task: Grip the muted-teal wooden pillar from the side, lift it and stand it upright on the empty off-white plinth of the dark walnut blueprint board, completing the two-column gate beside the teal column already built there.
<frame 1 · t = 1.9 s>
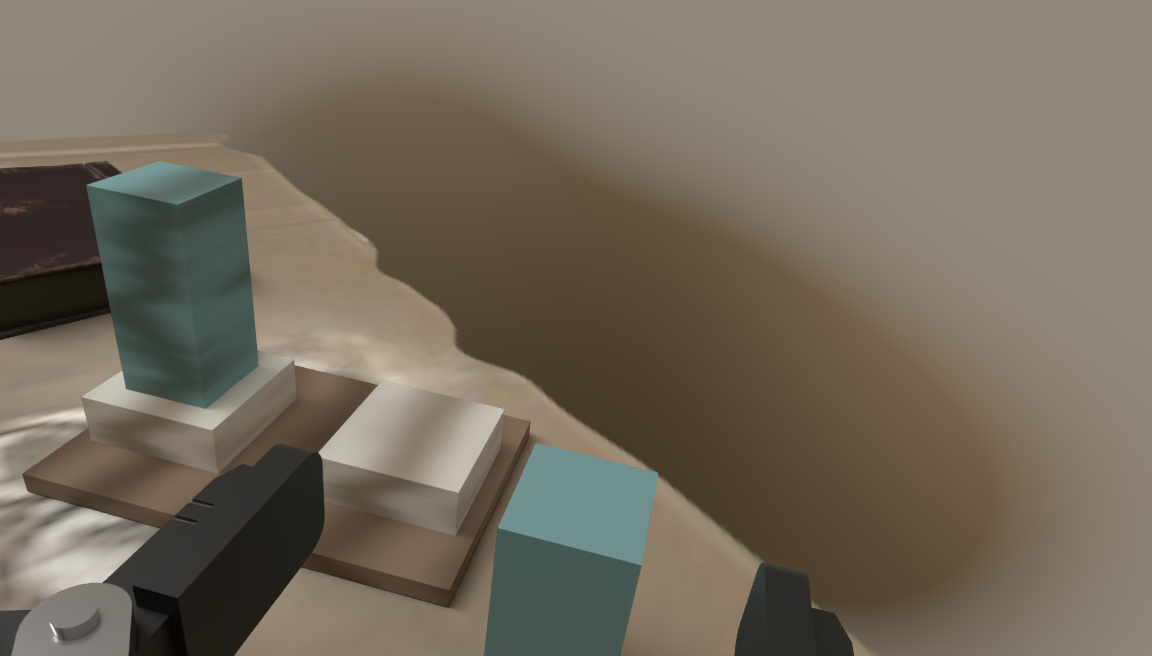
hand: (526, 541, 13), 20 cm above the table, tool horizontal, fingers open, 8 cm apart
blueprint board: (306, 460, 44), on the table
diary: (64, 262, 63), on the table
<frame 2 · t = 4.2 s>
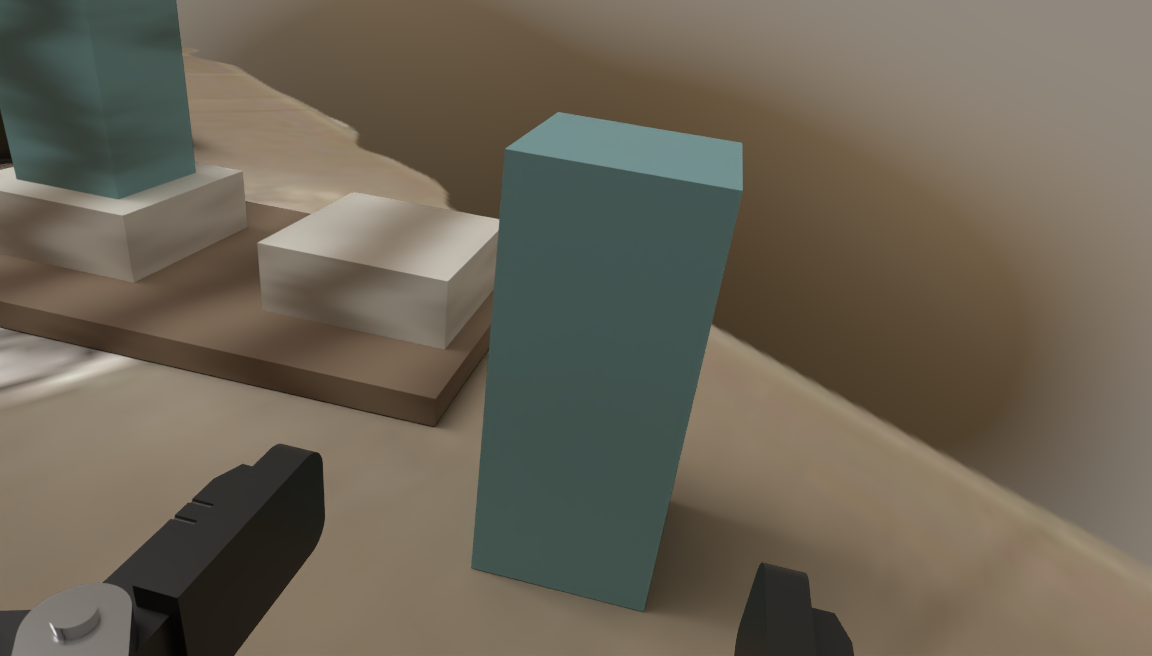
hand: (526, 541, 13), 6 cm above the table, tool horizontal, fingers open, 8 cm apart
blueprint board: (256, 287, 34), on the table
teal pillar: (574, 530, 22), on the table
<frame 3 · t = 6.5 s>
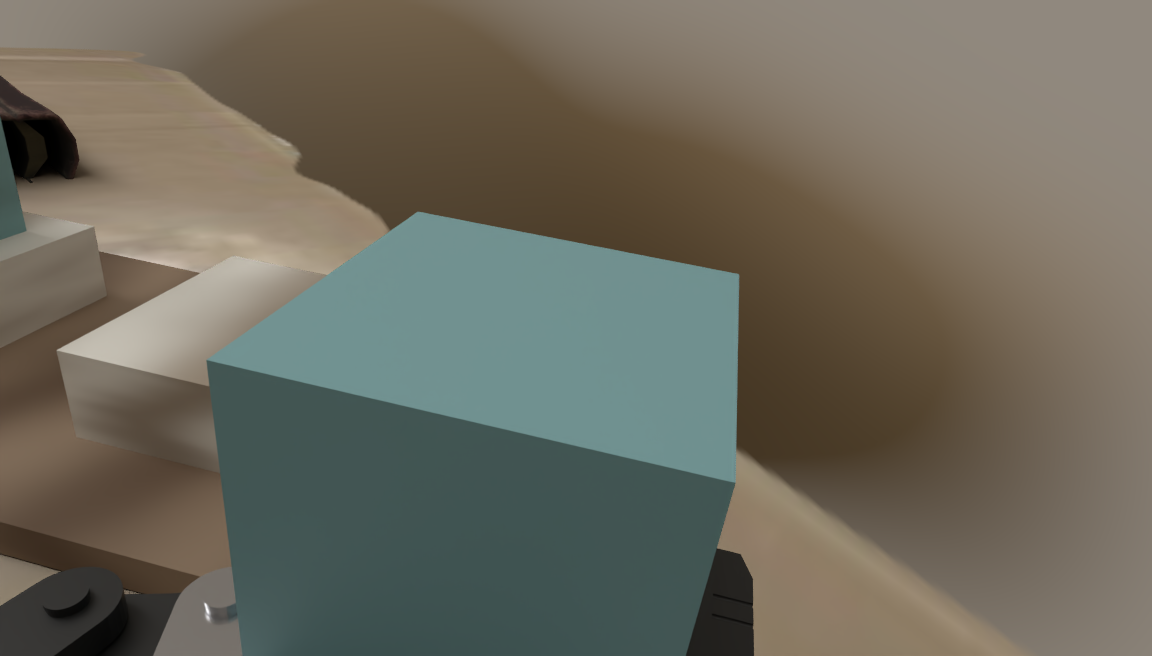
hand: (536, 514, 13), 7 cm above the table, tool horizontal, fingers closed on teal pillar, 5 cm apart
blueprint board: (99, 384, 26), on the table
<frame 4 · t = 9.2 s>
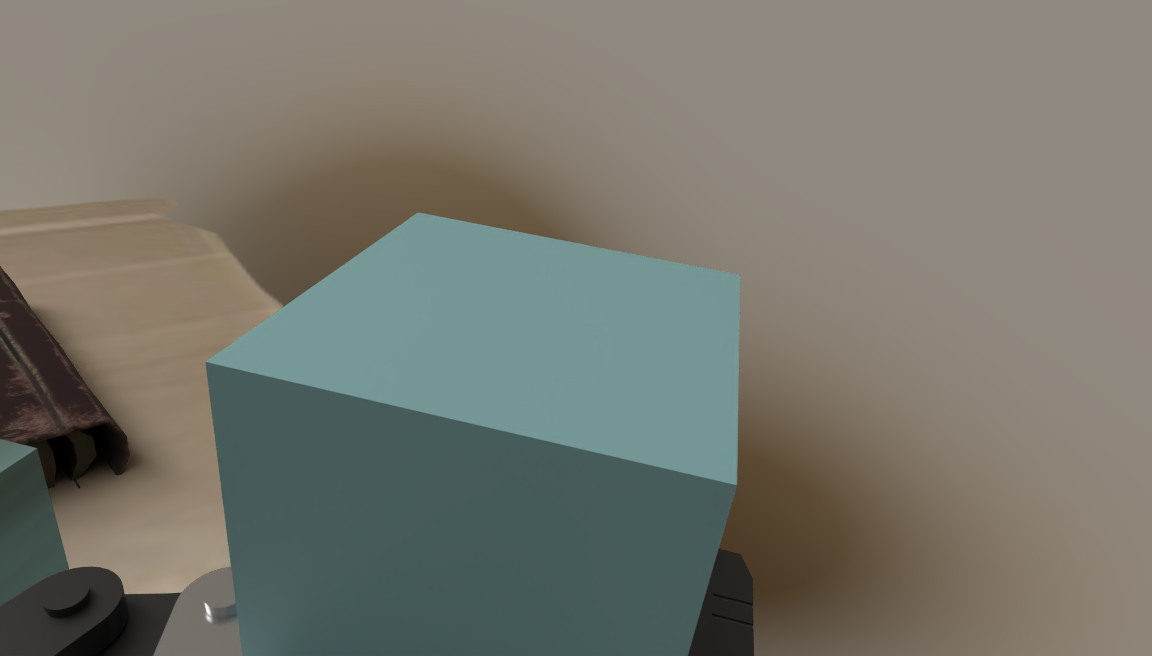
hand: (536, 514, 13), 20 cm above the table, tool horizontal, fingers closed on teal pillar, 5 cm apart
when the fingers open (12 cm above the table, at t = 11.9 s): teal pillar drops 1 cm, resting on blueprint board.
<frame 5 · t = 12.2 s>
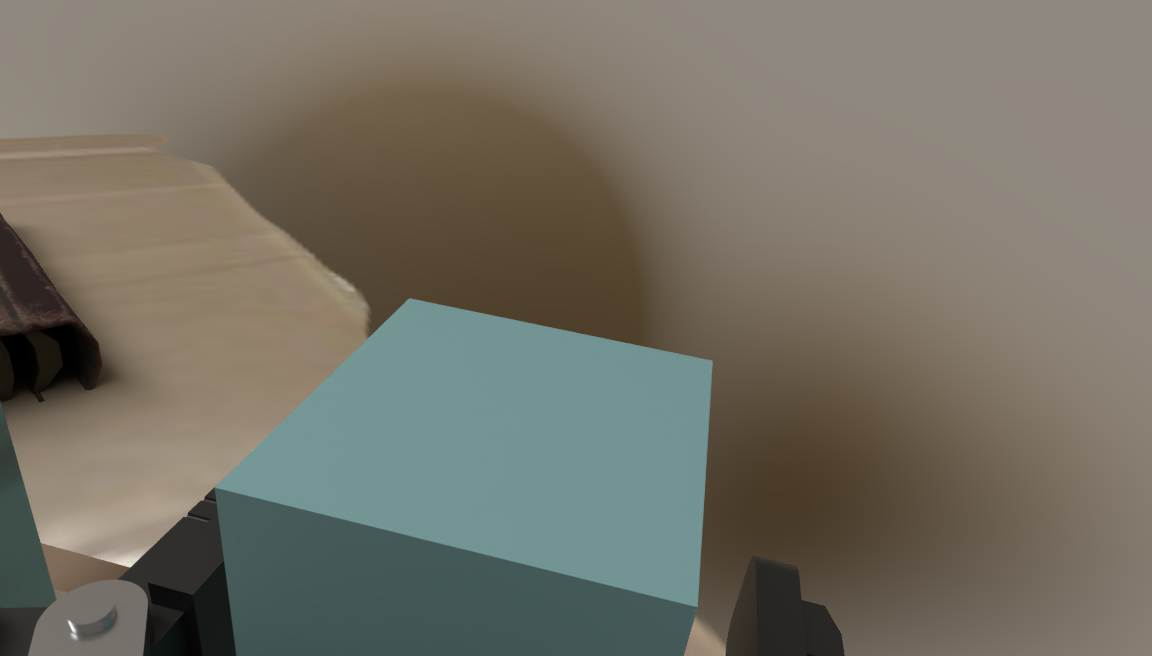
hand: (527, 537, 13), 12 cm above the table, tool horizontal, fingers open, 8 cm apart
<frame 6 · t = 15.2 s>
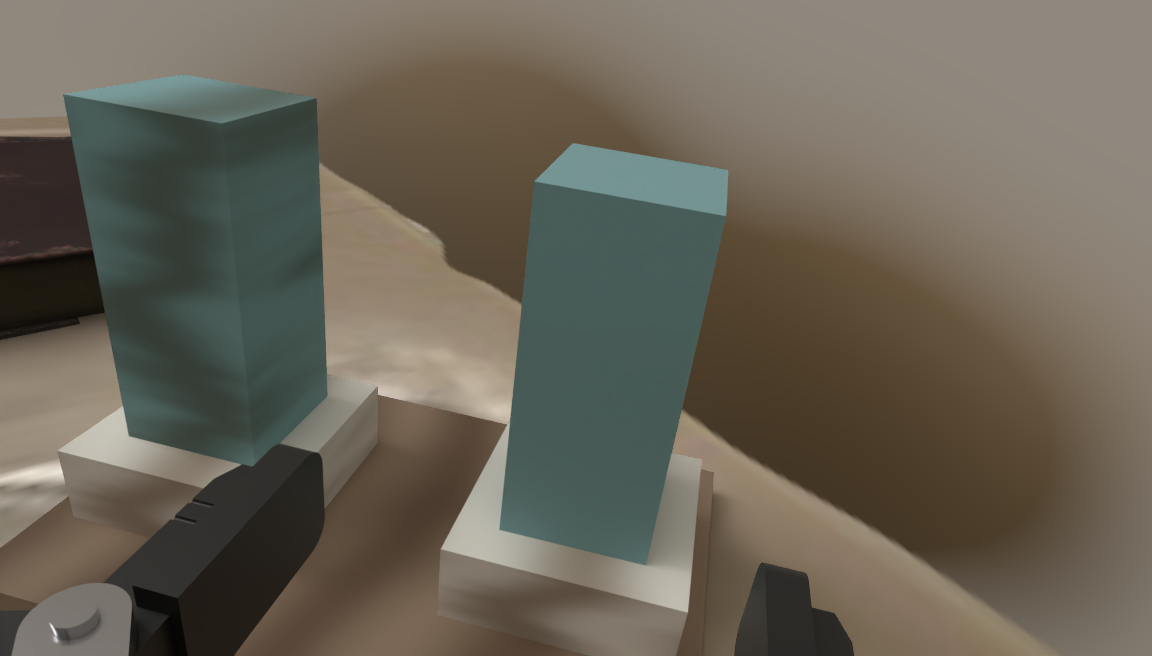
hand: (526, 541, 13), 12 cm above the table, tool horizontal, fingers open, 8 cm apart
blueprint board: (402, 539, 29), on the table
teal pillar: (585, 499, 26), point 4 cm above the table, touching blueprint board
diary: (42, 256, 48), on the table
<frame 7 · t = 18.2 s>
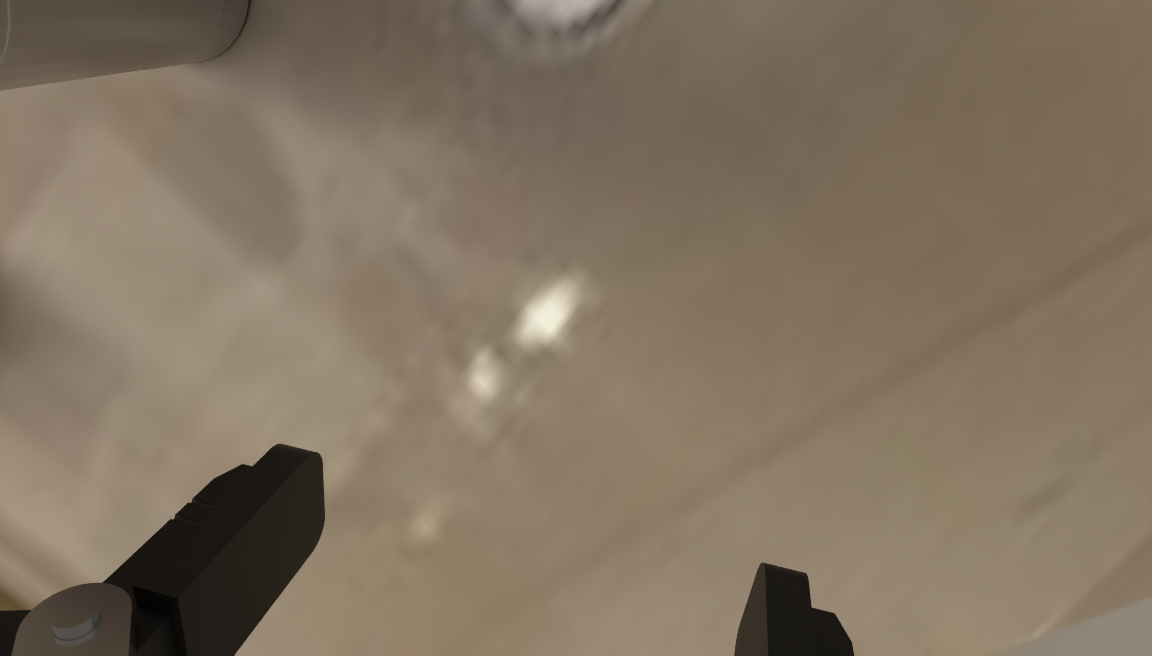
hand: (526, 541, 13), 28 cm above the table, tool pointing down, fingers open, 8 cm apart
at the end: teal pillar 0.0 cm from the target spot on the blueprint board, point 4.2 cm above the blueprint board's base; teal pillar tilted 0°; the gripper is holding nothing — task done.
